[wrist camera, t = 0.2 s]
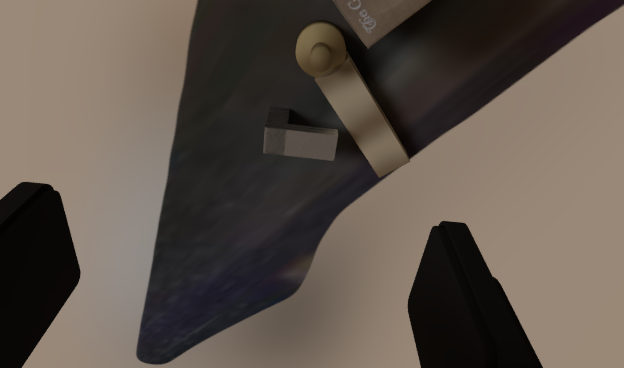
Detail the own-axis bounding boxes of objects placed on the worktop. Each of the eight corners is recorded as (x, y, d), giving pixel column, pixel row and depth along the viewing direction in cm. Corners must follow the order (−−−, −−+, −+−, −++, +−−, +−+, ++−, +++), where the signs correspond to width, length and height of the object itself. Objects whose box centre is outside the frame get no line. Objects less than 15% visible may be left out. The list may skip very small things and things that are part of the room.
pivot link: (287, 38, 43) (283, 53, 38) (328, 10, 41) (329, 22, 36) (372, 167, 51) (378, 193, 46) (409, 148, 49) (419, 173, 45)
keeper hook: (270, 106, 47) (264, 127, 42) (336, 114, 47) (338, 135, 43) (268, 129, 49) (263, 152, 44) (332, 137, 49) (333, 160, 44)
